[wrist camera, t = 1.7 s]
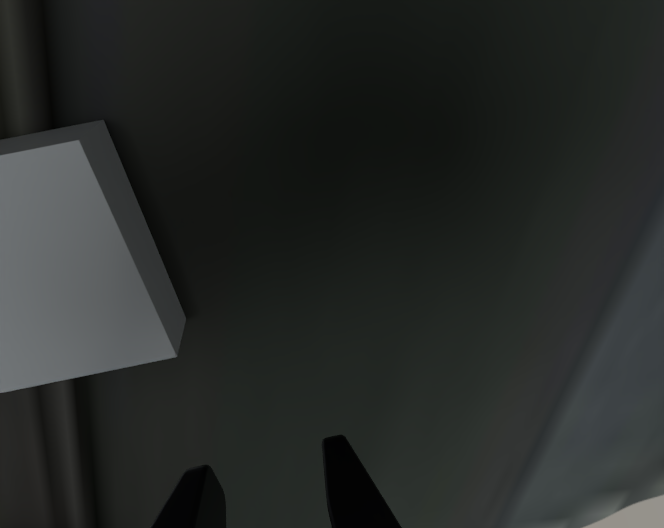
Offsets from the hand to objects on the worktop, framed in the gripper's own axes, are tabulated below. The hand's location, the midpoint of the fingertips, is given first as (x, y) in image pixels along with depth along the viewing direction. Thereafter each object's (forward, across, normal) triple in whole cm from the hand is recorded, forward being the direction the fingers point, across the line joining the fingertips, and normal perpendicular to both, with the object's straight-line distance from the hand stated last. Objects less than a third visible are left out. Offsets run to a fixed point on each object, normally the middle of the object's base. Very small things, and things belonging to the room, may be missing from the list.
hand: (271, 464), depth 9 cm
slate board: (+12, +12, 0) cm, 17 cm away
